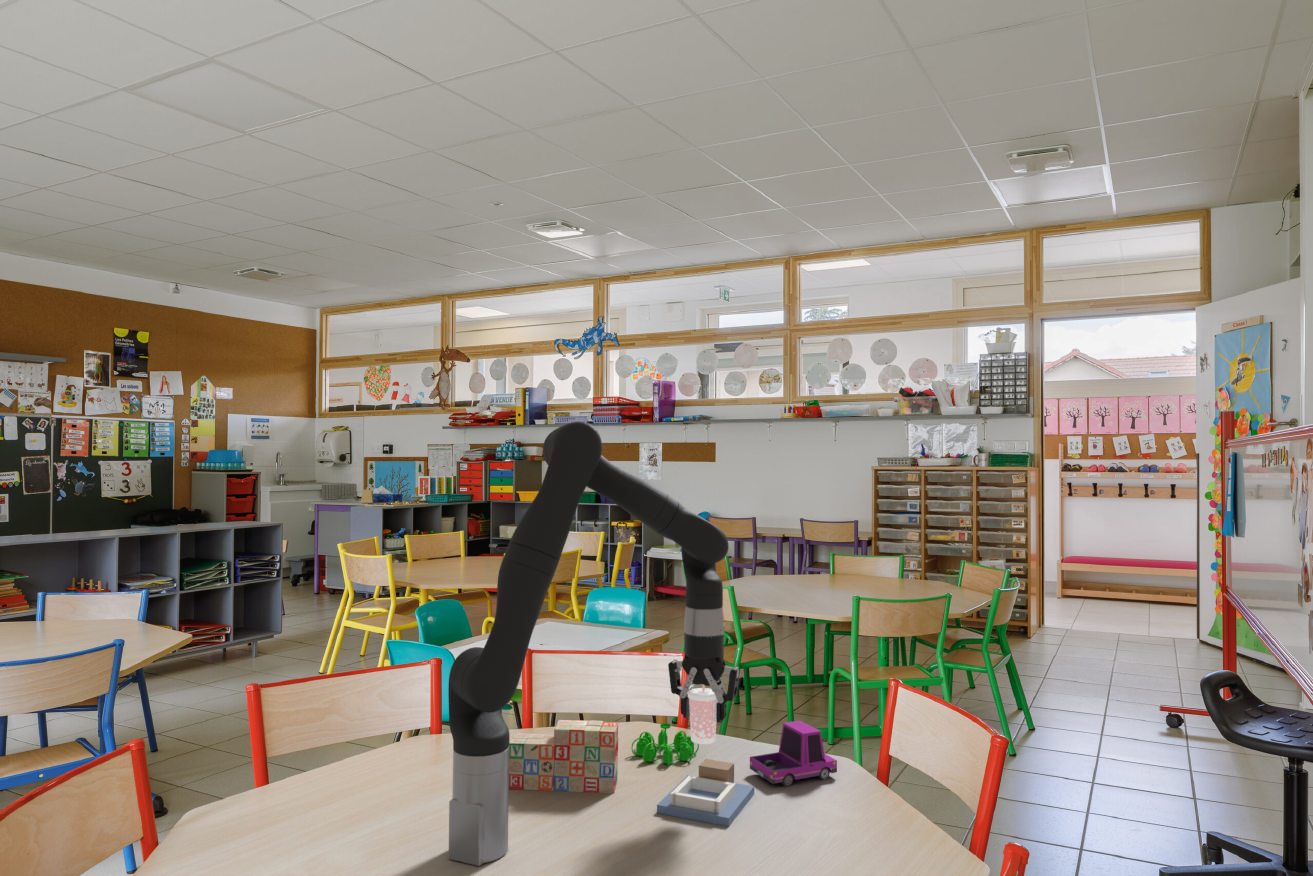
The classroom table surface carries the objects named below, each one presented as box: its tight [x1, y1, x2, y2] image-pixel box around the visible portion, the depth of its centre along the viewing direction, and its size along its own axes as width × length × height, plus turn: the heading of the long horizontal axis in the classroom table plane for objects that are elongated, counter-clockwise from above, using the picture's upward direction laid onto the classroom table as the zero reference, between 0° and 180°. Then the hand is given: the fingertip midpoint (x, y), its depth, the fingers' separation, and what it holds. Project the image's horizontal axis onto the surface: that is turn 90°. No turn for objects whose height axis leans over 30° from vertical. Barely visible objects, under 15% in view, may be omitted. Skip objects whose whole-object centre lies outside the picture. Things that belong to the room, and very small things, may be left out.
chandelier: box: [631, 722, 700, 767], centre depth 186 cm, size 15×15×7 cm
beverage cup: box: [687, 684, 718, 745], centre depth 159 cm, size 6×6×14 cm
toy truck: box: [749, 720, 838, 787], centre depth 174 cm, size 11×16×10 cm
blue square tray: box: [656, 758, 755, 827], centre depth 160 cm, size 16×14×6 cm
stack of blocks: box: [509, 719, 619, 794], centre depth 168 cm, size 21×6×12 cm, turn 86°
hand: (703, 719), depth 158 cm, fingers closed on beverage cup, 6 cm apart
